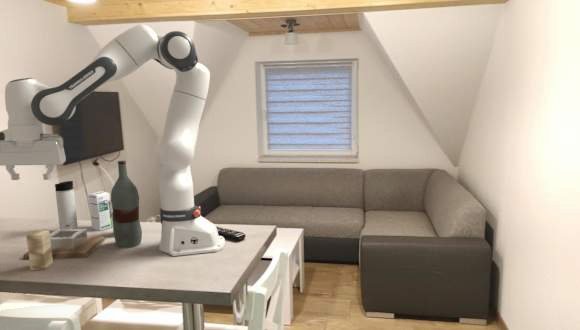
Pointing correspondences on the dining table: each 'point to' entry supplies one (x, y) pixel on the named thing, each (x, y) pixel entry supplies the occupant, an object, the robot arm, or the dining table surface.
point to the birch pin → (39, 250)
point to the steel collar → (67, 239)
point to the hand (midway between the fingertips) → (31, 179)
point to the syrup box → (100, 210)
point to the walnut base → (77, 249)
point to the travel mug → (66, 205)
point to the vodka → (125, 210)
